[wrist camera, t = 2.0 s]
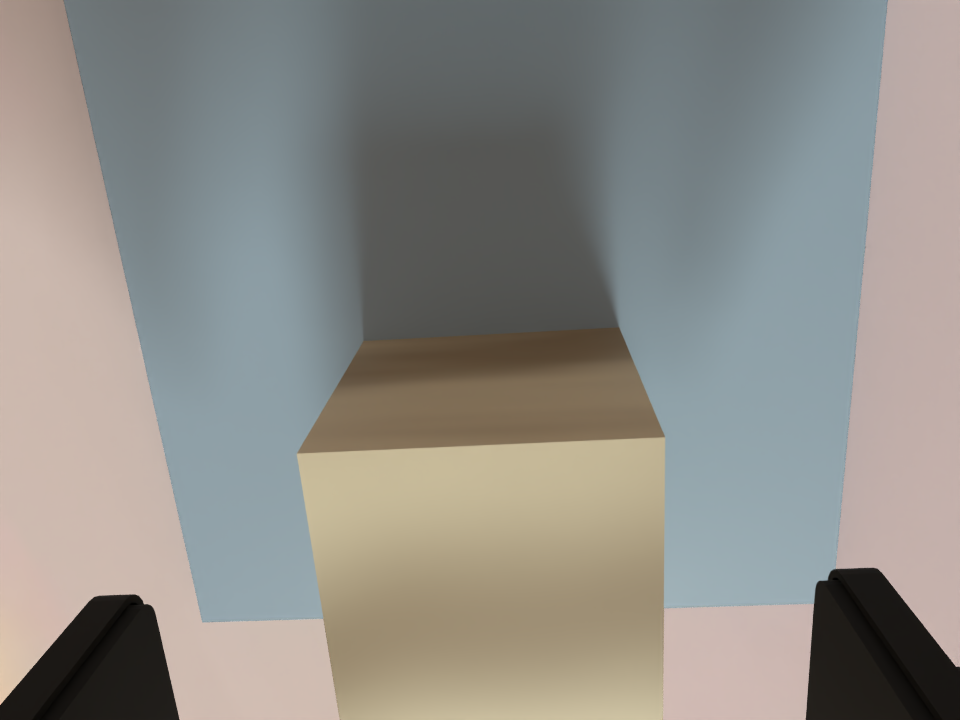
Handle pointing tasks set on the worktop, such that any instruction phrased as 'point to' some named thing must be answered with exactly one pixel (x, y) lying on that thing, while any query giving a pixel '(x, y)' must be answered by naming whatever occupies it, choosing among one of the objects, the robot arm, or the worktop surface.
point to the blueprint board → (494, 242)
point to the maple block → (490, 529)
